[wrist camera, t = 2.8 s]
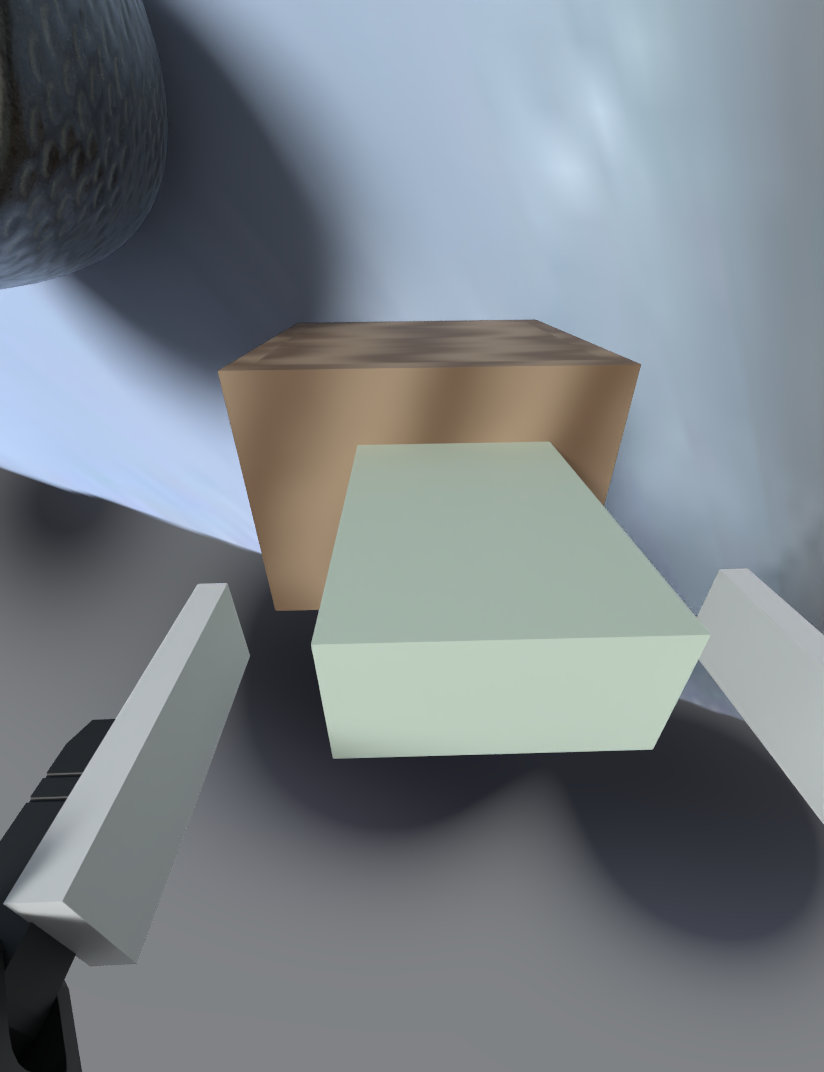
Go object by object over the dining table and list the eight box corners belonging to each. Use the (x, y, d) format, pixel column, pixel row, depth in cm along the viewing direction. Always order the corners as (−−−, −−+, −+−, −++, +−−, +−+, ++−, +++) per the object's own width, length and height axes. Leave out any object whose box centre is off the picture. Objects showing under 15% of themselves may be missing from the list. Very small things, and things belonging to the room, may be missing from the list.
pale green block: (549, 441, 18) (710, 634, 9) (532, 541, 21) (641, 771, 11) (357, 445, 18) (311, 644, 8) (365, 545, 20) (337, 779, 11)
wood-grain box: (535, 319, 29) (640, 364, 16) (514, 481, 35) (578, 603, 23) (297, 322, 29) (217, 371, 16) (320, 485, 35) (275, 610, 23)
